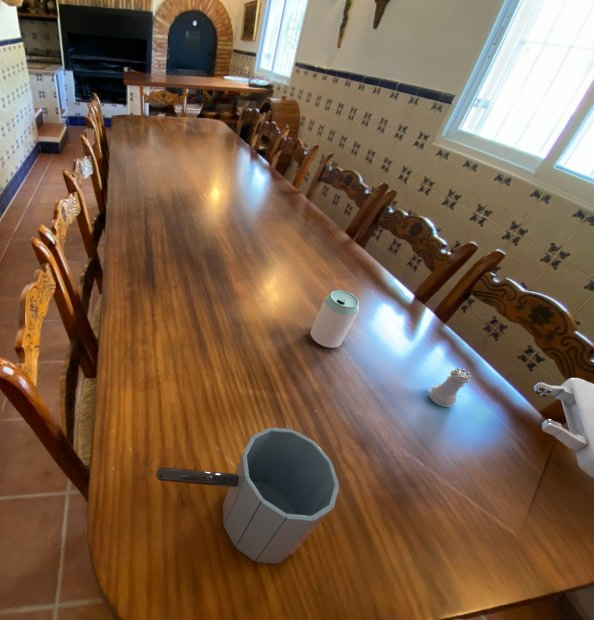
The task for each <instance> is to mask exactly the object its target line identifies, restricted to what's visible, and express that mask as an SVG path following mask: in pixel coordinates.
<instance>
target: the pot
mask: <svg viewBox="0 0 594 620" xmlns="http://www.w3.org/2000/svg"><path fill="white" fill-rule="evenodd" d="M155 475H156V478H157V480H158V481H161V482H169V483H170V482H171V483H180V484H189V485H203V486H211V487H212V486H215V487H225V488H228V489H227V491H226V495H225V497H224V499H223V502H222V520H223V527H224V529H225V532H226V533H227V535H228V537H229V539H230V540H231V542H232V545H233V546H234V547H235V548H236V549H237V550H238V551H239V552H241V553H243V554H244V555H245V556H246V557H248V558H249V559H251V560H252V561H253V562H256V563H262V564H263V563H264V564H275V565H276V564H280V563H281V562H283V561H284V560H285V559H287V558H289V557H290V556H291V555H293V554H294V553H295V552H296V551H297V550H298V549H299V548H300V547H301V546H302V544H303V543H304V542H305V541H306V540H307V538H309V536H310V535H311V534H312V533H313V532H314V530H315V529H316V528H318V526H319V525H320V524H321V523H322V522H323V521H324V519H325V518H326V517H327V516H328V515H329V514H330V513H331V511H333V509H334V508H335V504H336V501H337V497H338V493H339V489H340V483H339V480H338V476H337V474H336V470H335V467H334V463H333V462H332V460H331V459H330V458H329V457H328V454H326V452H324V450H323V449H322V448H321V447H320V446H319V445H318V444H317V442H316V441H314V440H313V439H311V438H309V437H307V436H305V435H304V434H302V433H300V432H298V431H296V430H295V429H292V428H282V427H281V428H280V427H268V428H266V429H264V430H262V431H260V432H257V433H255V434H253V435H251V437H250V439H249V441H248V442H247V444H246V446H245V448H244V450H243V452H242V454H241V456H240V459H239V461H238V464H237V466H236V469H235V472H224V471H223V472H222V471H210V470H200V469H188V468H177V467H167V466H166V467H165V466H159V468H158V469H157V470H156V472H155Z"/></svg>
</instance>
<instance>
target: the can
mask: <svg viewBox="0 0 594 620" xmlns="http://www.w3.org/2000/svg"><path fill="white" fill-rule="evenodd" d="M359 312H360V301H359V298H358V297H357V296H355V294H353V293H351V292H349V291H346V290H333V291H331V293H330V294H329V295H327V296H326V297H325V298H324V300H323V302H322V305H321V307H320V309H319V311H318V313H317V315H316V319H315V321H314V323H313V325H312V327H311V329H310V336H311V338H312V339H313V341H314V342H316V343H317V344H318V345H320V346H322V347H325V348H330V349H331V348H338V347H340V346H341V345H342V344H343V342H344V340H345V338H346V336H347V334H348V332H349V331H350V330H351V329H350V328H351V327H352V325H353V323H354V321H355V319H356V318H357V315H358V314H359Z"/></svg>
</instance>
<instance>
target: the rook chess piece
mask: <svg viewBox="0 0 594 620" xmlns="http://www.w3.org/2000/svg"><path fill="white" fill-rule="evenodd" d="M471 378H472V375H471V373H470V371H466V369H465V368H461V367H457V368H455V369H451V370H450V375H448V376H447V379H446V380H444V381H443V382H441V383H440V384H436V385H434V386H432V387H431V388H430V389H429V390H428V397H429V399H430V400H431V401H432V402H433V403H434V404H435V405H438V406H440V407H443V408H450V407H452V406H454V404H455V403H456V401H457V394H458V392H459V391H460V389H461V388H463V387H464V386H465V384H469V383H470V382H471Z"/></svg>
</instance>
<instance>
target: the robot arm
mask: <svg viewBox="0 0 594 620" xmlns="http://www.w3.org/2000/svg"><path fill="white" fill-rule="evenodd" d="M533 389H534V393H535V394H536V395H540V396H541V397H543V398H547V397H548V396H552V397H555V399H557V400H559V401H560V402H561V405H562V409H563V413H564V417H565V420H566V424H567V427H568V429H566V428H564V427H563V425H562V423H561V422H558V421H555V420H552V419H550V418H547V419H545V420H543V421H542V422H541V429H542V432H544V433H546V434H549V435H551V436H553V437H554V438H555V439H557V440H558V441H559V442H561V443H562V444H563V445H564V446H566V447H567V448H569V449H570V450H573V451H574V454H575V458H576V460H577V465H578V468H580V470H582V471H583V472H584V473H585V474H586V475H588V476H589V477H590V478H593V479H594V383H592V382H590V381H587V380H585V379H582V378H579V377H570V378H568V379H567V380H565V381H564V382H563V383H562V384H561V385H551V384H547V383H545V382H541V381H540V382H537V383H536V384H535V385H534V386H533Z"/></svg>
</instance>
